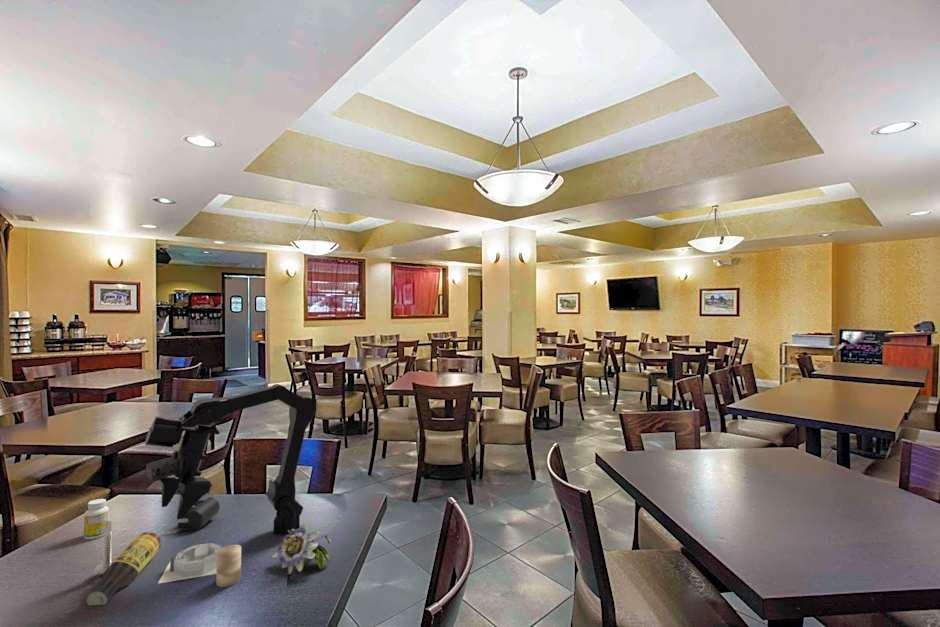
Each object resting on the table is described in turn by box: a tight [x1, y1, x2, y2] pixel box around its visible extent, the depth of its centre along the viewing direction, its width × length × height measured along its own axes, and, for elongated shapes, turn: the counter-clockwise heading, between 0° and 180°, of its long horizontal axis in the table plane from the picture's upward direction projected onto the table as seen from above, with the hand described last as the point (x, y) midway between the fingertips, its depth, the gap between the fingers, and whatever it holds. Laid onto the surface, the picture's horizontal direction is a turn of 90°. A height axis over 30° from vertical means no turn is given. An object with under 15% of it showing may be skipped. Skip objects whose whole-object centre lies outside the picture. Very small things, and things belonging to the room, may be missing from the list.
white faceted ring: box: [169, 542, 223, 577], centre depth 109 cm, size 10×10×3 cm
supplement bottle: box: [83, 498, 110, 540], centre depth 126 cm, size 5×5×10 cm
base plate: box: [157, 558, 217, 585], centre depth 109 cm, size 14×11×1 cm
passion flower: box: [271, 522, 331, 576], centre depth 111 cm, size 11×11×12 cm
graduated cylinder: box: [93, 520, 114, 577], centre depth 106 cm, size 13×5×5 cm
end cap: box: [177, 497, 221, 534], centre depth 132 cm, size 10×7×7 cm
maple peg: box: [215, 544, 242, 588], centre depth 103 cm, size 5×5×8 cm
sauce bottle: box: [86, 531, 162, 606], centre depth 103 cm, size 6×6×20 cm
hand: (171, 512), depth 110 cm, fingers open, 9 cm apart
